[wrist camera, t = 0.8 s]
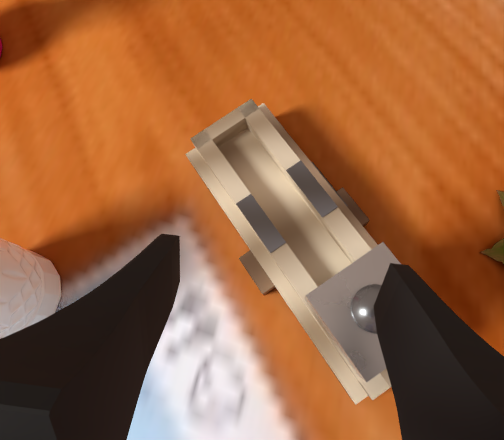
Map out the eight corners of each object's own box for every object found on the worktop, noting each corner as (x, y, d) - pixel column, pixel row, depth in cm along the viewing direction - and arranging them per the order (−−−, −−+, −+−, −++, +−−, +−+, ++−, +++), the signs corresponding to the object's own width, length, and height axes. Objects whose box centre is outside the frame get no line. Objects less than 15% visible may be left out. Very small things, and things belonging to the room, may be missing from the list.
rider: (420, 323, 23) (452, 322, 18) (353, 372, 22) (368, 383, 18) (368, 256, 24) (384, 240, 19) (304, 300, 24) (305, 294, 19)
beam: (448, 326, 25) (475, 326, 21) (337, 406, 24) (345, 420, 20) (276, 113, 30) (273, 83, 27) (183, 174, 30) (167, 152, 26)
